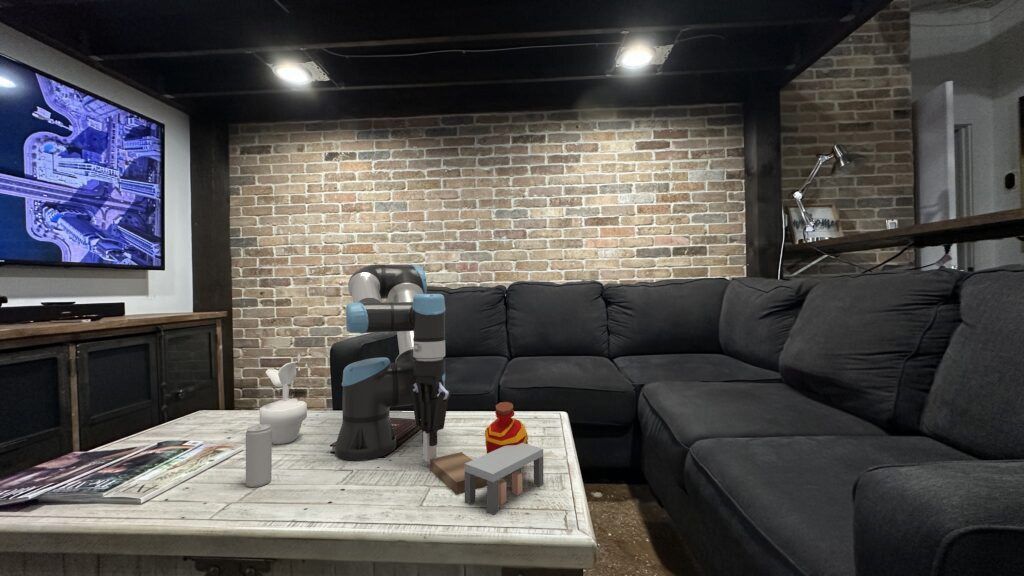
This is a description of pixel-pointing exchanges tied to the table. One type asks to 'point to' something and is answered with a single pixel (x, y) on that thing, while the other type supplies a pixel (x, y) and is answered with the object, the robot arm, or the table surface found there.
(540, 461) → the shelf
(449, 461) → the panel
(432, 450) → the robot arm
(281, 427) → the potted plant
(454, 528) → the table surface
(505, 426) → the potion bottle
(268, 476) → the beverage can
